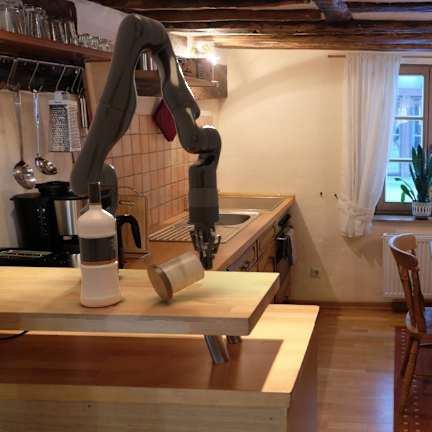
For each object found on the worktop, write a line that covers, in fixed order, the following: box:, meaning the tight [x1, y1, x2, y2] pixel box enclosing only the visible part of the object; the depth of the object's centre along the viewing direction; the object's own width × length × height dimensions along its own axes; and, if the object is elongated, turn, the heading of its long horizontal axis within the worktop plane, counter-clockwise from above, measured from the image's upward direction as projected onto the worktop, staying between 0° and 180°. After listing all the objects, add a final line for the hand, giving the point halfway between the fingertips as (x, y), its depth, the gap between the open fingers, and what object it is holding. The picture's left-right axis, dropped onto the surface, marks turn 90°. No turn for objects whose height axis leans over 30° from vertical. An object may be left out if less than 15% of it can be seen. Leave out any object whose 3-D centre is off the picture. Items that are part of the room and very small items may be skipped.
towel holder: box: [146, 250, 216, 303], centre depth 145 cm, size 10×16×10 cm, turn 134°
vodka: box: [76, 182, 123, 308], centre depth 137 cm, size 9×9×30 cm
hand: (206, 268), depth 148 cm, fingers closed on towel holder
